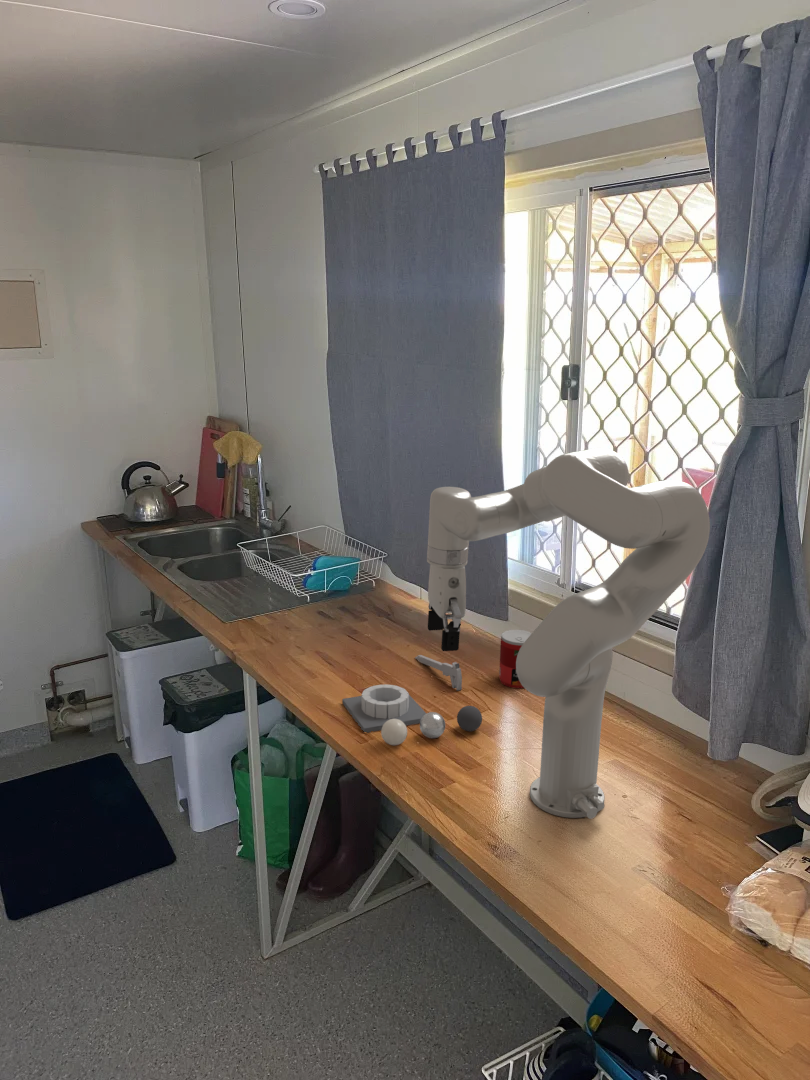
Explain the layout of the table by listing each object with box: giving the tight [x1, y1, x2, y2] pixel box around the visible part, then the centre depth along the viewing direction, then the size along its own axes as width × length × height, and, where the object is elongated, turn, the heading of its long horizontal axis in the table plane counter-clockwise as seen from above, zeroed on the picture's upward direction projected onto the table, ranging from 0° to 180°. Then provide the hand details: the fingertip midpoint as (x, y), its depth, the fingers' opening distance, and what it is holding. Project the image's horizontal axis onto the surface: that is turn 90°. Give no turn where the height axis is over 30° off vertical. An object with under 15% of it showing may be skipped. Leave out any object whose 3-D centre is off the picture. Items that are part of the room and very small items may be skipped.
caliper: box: [414, 654, 463, 692], centre depth 195 cm, size 20×1×6 cm, turn 27°
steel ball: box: [419, 711, 446, 739], centre depth 166 cm, size 5×5×5 cm
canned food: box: [498, 629, 533, 689], centre depth 191 cm, size 8×8×11 cm
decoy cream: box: [380, 719, 408, 746], centre depth 163 cm, size 5×5×5 cm
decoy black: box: [456, 705, 483, 732], centre depth 169 cm, size 5×5×5 cm
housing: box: [341, 684, 427, 733], centre depth 176 cm, size 14×14×4 cm
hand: (442, 639), depth 163 cm, fingers open, 9 cm apart
